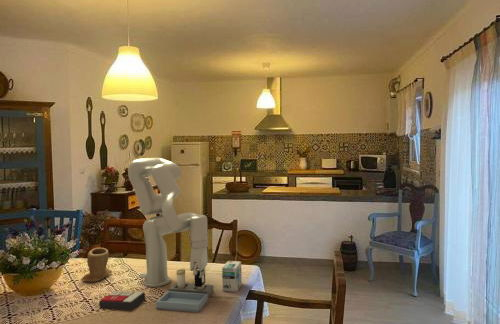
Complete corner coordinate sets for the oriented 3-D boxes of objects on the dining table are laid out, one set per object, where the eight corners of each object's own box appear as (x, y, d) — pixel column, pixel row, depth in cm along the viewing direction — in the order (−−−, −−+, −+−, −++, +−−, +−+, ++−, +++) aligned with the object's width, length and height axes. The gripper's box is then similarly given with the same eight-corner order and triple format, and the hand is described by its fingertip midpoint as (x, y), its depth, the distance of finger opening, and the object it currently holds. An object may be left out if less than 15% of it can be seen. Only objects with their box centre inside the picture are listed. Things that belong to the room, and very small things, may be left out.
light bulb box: (236, 292, 174) (236, 268, 173) (222, 291, 175) (221, 267, 174) (242, 283, 184) (241, 261, 184) (228, 282, 185) (227, 260, 185)
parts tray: (156, 308, 158) (156, 301, 158) (168, 298, 169) (167, 291, 169) (198, 312, 154) (198, 304, 154) (207, 300, 165) (207, 293, 165)
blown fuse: (194, 295, 171) (194, 272, 170) (197, 291, 175) (197, 269, 174) (203, 295, 170) (202, 273, 170) (205, 292, 174) (205, 270, 173)
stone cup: (99, 284, 187) (98, 253, 186) (78, 282, 190) (77, 252, 189) (118, 274, 201) (117, 245, 201) (99, 272, 205) (97, 243, 204)
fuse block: (168, 295, 172) (168, 288, 171) (175, 288, 179) (175, 282, 179) (207, 298, 168) (207, 291, 167) (213, 291, 175) (213, 284, 175)
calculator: (113, 289, 171) (144, 290, 167) (114, 299, 171) (145, 300, 167) (98, 299, 160) (131, 300, 157) (99, 310, 161) (132, 311, 157)
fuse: (175, 294, 173) (175, 271, 172) (179, 290, 177) (178, 269, 176) (183, 294, 172) (183, 272, 172) (187, 291, 176) (186, 269, 175)
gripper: (197, 238, 180) (198, 277, 181) (183, 248, 164) (184, 291, 165) (213, 239, 178) (214, 278, 180) (200, 249, 162) (201, 292, 163)
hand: (200, 284), depth 172 cm, fingers closed on blown fuse, 3 cm apart
